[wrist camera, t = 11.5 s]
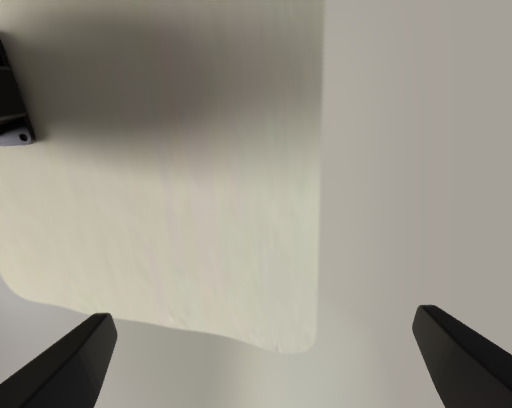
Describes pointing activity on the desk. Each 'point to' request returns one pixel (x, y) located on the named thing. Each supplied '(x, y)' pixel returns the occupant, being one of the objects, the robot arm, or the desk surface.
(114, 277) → the desk surface
